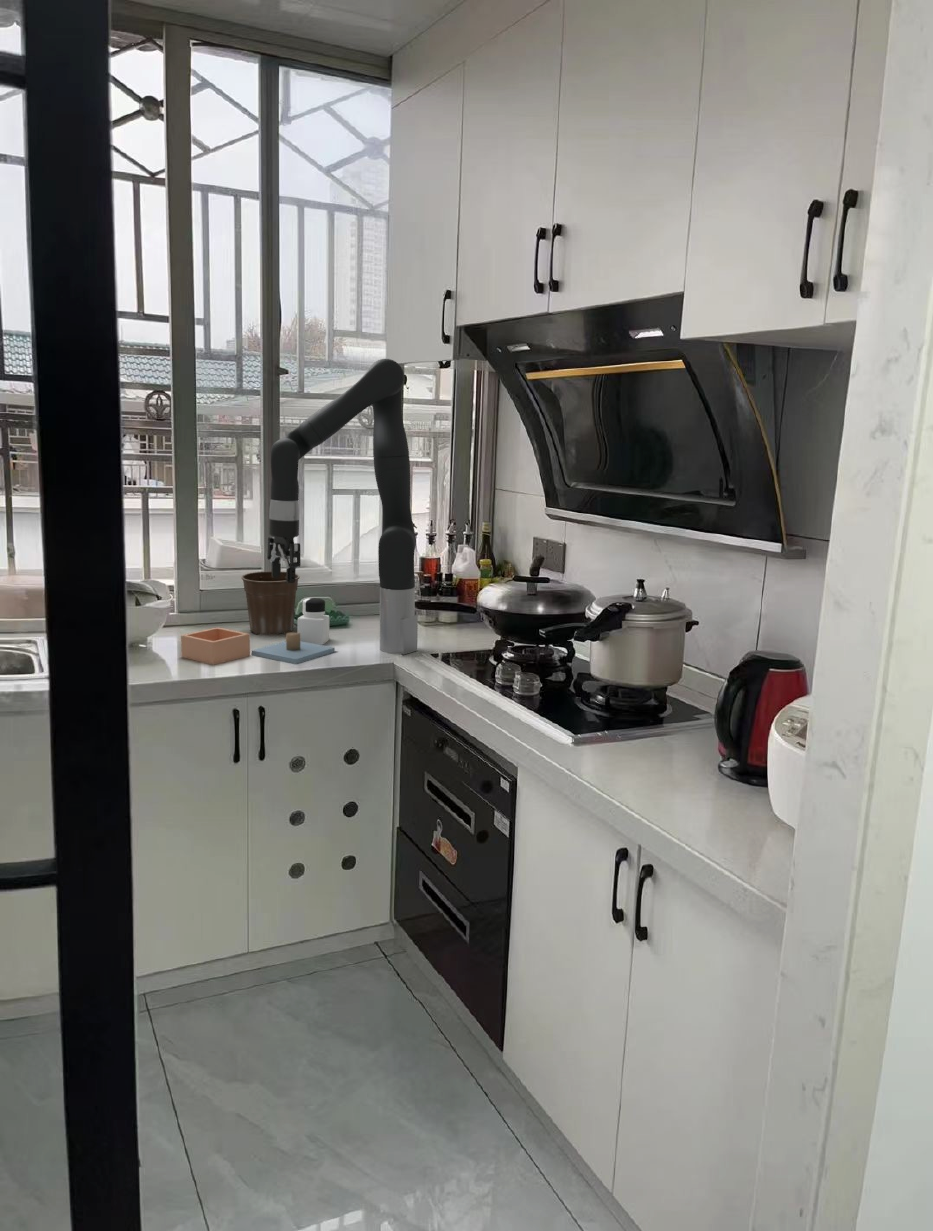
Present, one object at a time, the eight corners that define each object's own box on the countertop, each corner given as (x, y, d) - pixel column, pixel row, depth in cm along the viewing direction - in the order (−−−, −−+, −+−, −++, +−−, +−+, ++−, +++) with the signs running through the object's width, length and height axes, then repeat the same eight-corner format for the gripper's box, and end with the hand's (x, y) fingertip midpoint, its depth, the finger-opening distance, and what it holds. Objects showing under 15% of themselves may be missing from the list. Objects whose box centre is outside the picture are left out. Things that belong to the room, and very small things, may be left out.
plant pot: (295, 638, 270) (294, 581, 266) (237, 637, 270) (235, 580, 266) (304, 625, 285) (303, 571, 282) (250, 624, 285) (248, 570, 282)
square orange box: (250, 656, 249) (249, 633, 248) (213, 666, 239) (212, 642, 238) (218, 649, 255) (217, 627, 254) (181, 658, 246) (180, 635, 245)
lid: (334, 652, 254) (334, 632, 252) (295, 663, 241) (295, 643, 240) (291, 643, 261) (291, 625, 260) (251, 654, 249) (251, 635, 248)
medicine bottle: (329, 640, 268) (330, 597, 266) (322, 645, 261) (323, 601, 259) (304, 639, 268) (304, 596, 266) (296, 643, 261) (297, 599, 259)
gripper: (310, 520, 244) (309, 583, 247) (285, 514, 255) (284, 574, 258) (283, 521, 240) (282, 585, 243) (258, 514, 251) (258, 576, 254)
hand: (283, 580), depth 251 cm, fingers open, 8 cm apart
